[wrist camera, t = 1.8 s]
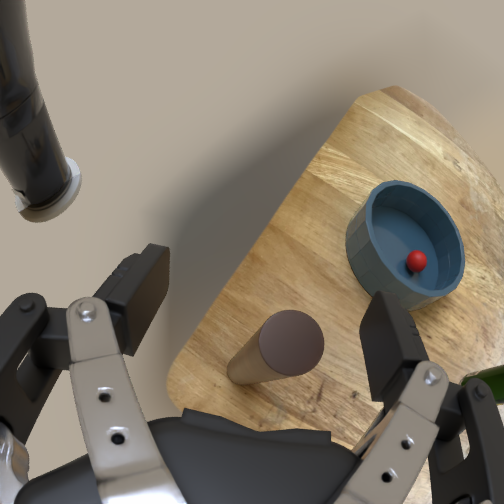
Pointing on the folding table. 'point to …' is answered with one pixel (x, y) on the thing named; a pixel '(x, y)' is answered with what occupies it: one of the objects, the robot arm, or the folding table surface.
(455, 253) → the mixing bowl
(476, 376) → the beer can
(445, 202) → the folding table surface
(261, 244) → the folding table surface
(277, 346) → the brown wooden rod
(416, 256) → the cherry
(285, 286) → the folding table surface
